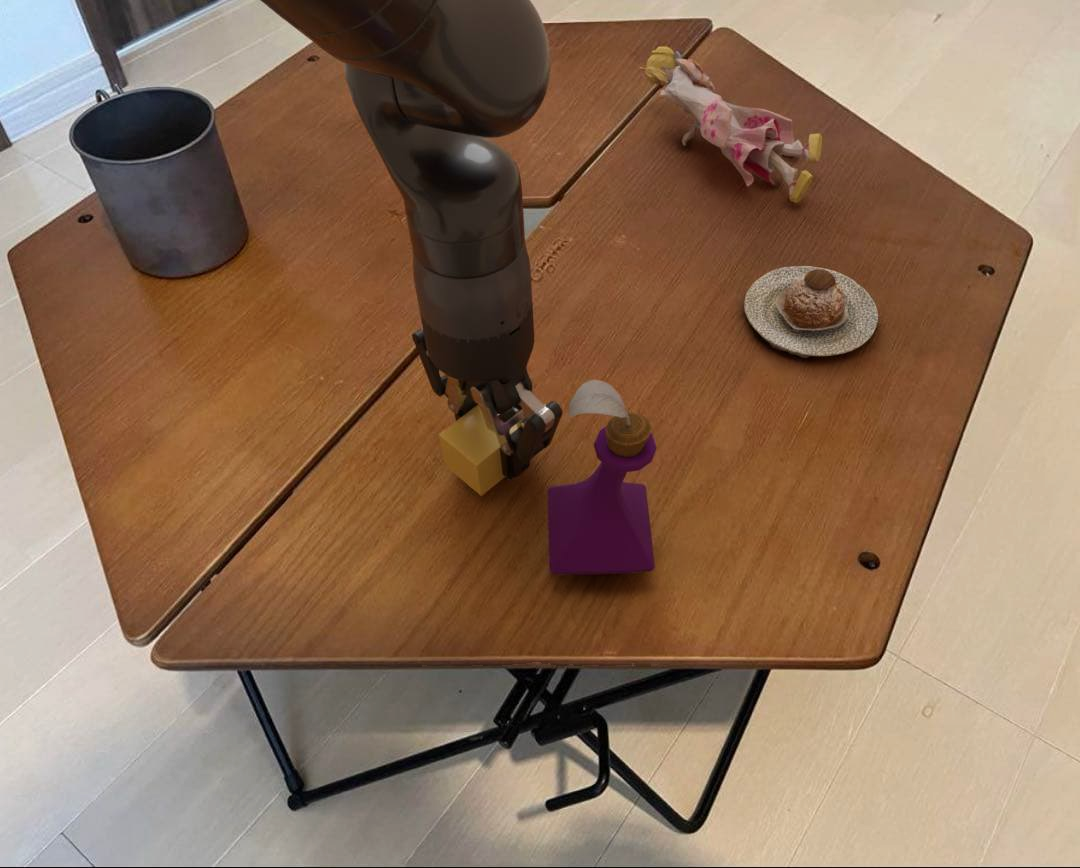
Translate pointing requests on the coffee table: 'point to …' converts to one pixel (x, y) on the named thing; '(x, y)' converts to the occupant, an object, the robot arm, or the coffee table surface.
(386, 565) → the coffee table surface
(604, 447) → the perfume bottle
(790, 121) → the figurine
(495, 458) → the block
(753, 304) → the pastry
